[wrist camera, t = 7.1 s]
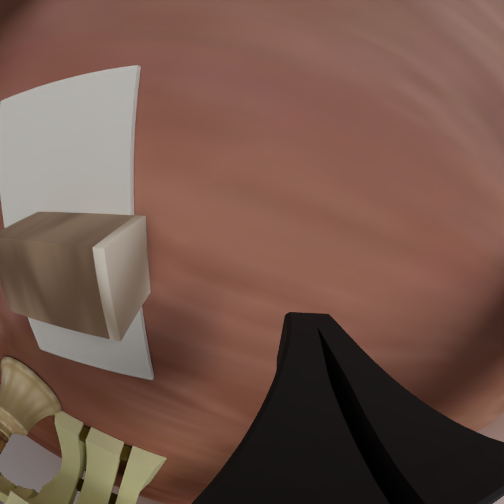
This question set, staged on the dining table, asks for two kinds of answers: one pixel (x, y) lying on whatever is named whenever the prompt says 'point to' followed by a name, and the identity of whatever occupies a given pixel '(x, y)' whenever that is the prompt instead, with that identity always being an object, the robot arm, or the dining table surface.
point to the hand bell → (23, 400)
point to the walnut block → (76, 270)
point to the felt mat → (75, 183)
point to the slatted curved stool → (89, 469)
